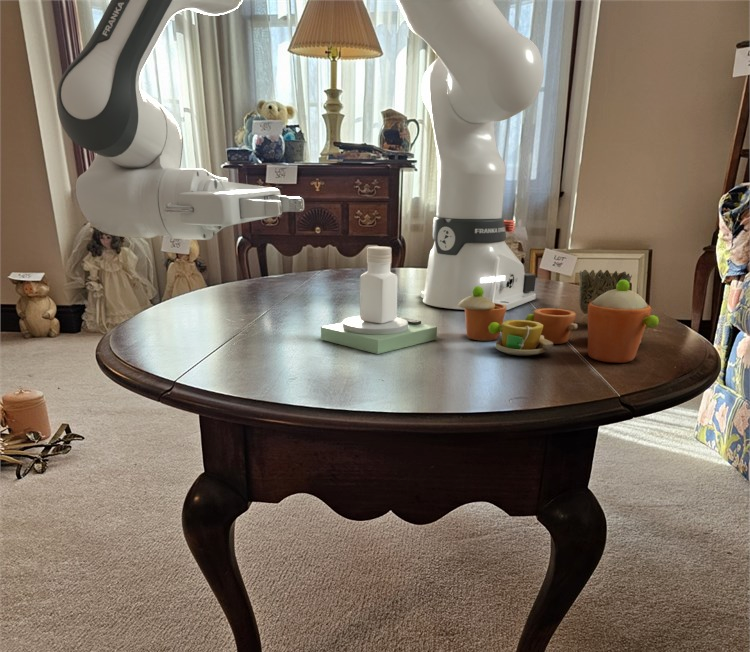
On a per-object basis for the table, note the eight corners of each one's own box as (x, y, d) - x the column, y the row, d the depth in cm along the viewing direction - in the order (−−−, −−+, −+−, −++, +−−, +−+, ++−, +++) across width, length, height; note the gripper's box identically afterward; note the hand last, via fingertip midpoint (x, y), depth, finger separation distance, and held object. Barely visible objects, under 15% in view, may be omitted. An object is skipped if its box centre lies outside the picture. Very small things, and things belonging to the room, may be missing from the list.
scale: (380, 327, 99) (380, 309, 98) (436, 339, 92) (437, 320, 91) (320, 339, 91) (320, 320, 90) (377, 354, 84) (377, 334, 83)
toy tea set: (641, 339, 93) (655, 268, 89) (663, 368, 80) (681, 286, 75) (458, 330, 98) (463, 262, 93) (450, 356, 84) (455, 277, 80)
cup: (625, 333, 97) (635, 277, 94) (573, 330, 98) (582, 274, 95) (618, 323, 104) (628, 270, 100) (570, 320, 105) (578, 268, 101)
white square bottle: (358, 321, 90) (358, 247, 86) (374, 316, 93) (375, 245, 88) (382, 325, 88) (383, 250, 84) (398, 320, 91) (400, 247, 86)
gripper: (153, 180, 78) (262, 181, 76) (222, 177, 96) (312, 178, 94) (160, 237, 81) (266, 239, 79) (226, 224, 99) (314, 226, 96)
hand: (292, 206), depth 86 cm, fingers open, 8 cm apart
